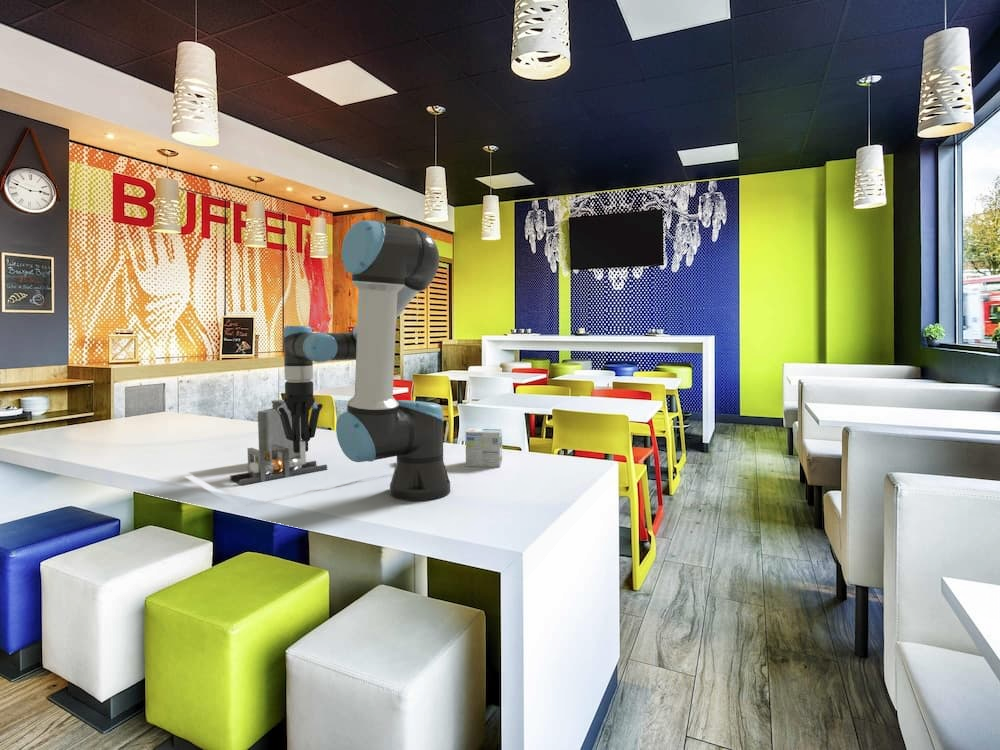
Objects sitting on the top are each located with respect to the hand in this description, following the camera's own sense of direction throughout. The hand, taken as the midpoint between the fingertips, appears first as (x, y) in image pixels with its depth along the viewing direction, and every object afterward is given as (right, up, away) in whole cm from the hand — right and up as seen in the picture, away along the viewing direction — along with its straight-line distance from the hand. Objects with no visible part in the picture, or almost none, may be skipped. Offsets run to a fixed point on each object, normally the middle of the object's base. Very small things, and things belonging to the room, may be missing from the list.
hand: (301, 463), depth 159 cm
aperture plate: (-10, -3, -3) cm, 11 cm away
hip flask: (-9, -3, +9) cm, 13 cm away
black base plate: (-4, -3, -4) cm, 7 cm away
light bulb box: (+52, -3, +13) cm, 53 cm away
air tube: (-5, -2, -5) cm, 7 cm away
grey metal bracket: (-6, -2, -7) cm, 10 cm away
